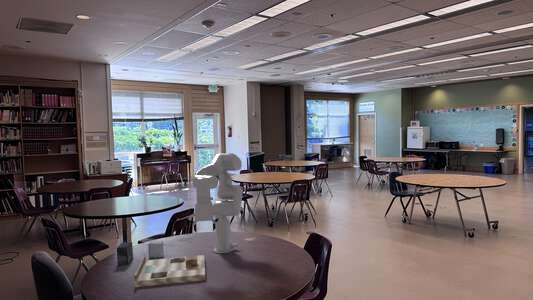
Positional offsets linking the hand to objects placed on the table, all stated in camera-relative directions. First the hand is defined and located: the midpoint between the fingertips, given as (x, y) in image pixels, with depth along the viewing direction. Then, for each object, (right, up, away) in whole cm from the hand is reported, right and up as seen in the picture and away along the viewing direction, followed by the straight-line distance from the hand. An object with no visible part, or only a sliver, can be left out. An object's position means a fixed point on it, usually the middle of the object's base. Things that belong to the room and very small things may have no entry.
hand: (204, 231), depth 198 cm
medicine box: (-34, -21, +24) cm, 47 cm away
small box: (-50, -22, +16) cm, 57 cm away
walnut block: (-7, -18, -1) cm, 19 cm away
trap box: (-17, -22, -3) cm, 27 cm away
